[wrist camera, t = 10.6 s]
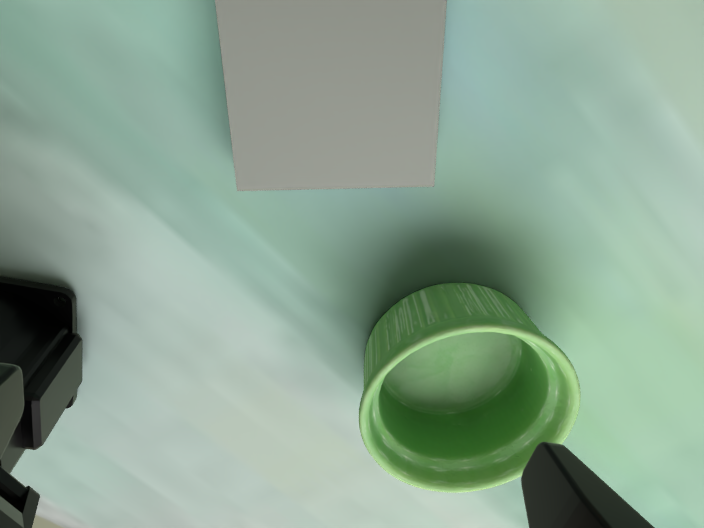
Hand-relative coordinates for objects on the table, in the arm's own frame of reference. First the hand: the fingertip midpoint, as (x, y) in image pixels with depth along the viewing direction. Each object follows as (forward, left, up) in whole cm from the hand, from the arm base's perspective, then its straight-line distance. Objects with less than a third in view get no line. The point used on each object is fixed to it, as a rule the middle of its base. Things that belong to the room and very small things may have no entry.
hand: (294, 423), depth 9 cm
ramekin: (+8, -7, -13) cm, 17 cm away
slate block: (0, +4, -14) cm, 14 cm away
